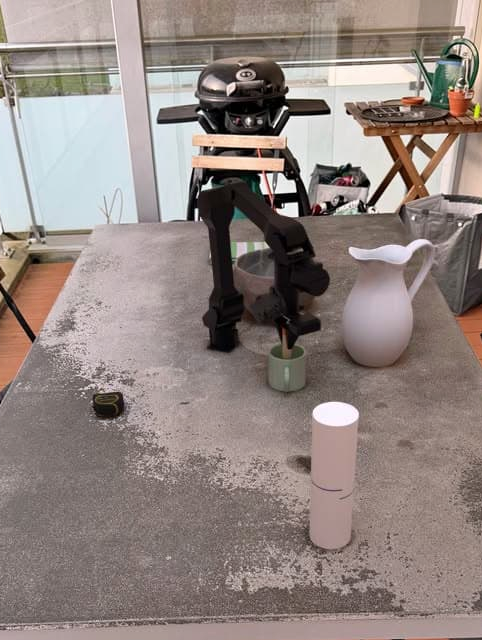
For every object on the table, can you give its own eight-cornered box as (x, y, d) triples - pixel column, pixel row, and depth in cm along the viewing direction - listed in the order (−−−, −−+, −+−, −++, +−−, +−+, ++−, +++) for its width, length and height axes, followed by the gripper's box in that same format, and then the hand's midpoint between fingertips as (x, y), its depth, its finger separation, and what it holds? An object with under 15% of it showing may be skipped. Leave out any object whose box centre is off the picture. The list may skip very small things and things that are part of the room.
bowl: (218, 323, 200) (215, 270, 192) (251, 290, 218) (250, 241, 210) (302, 336, 192) (303, 281, 184) (329, 300, 211) (331, 249, 202)
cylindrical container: (306, 523, 131) (309, 403, 116) (346, 520, 131) (353, 400, 117) (312, 550, 125) (316, 427, 110) (354, 547, 125) (363, 424, 111)
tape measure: (124, 402, 167) (122, 388, 165) (125, 418, 161) (123, 403, 159) (93, 405, 166) (91, 391, 164) (94, 421, 160) (91, 407, 158)
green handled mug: (268, 372, 176) (268, 342, 172) (305, 373, 176) (306, 342, 171) (267, 398, 167) (266, 367, 162) (306, 398, 166) (306, 367, 162)
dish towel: (281, 263, 236) (281, 255, 234) (209, 265, 236) (208, 257, 235) (279, 244, 251) (279, 236, 249) (210, 246, 251) (210, 238, 249)
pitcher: (365, 379, 172) (374, 265, 157) (326, 351, 185) (331, 242, 169) (445, 355, 181) (461, 245, 165) (403, 330, 194) (414, 225, 178)
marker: (281, 358, 168) (281, 326, 164) (284, 354, 170) (284, 322, 165) (289, 359, 168) (289, 327, 163) (292, 355, 169) (293, 324, 165)
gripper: (233, 276, 162) (236, 340, 171) (278, 305, 149) (278, 373, 158) (276, 266, 167) (276, 329, 175) (323, 293, 153) (321, 360, 162)
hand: (287, 347), depth 167 cm, fingers closed on marker, 2 cm apart
